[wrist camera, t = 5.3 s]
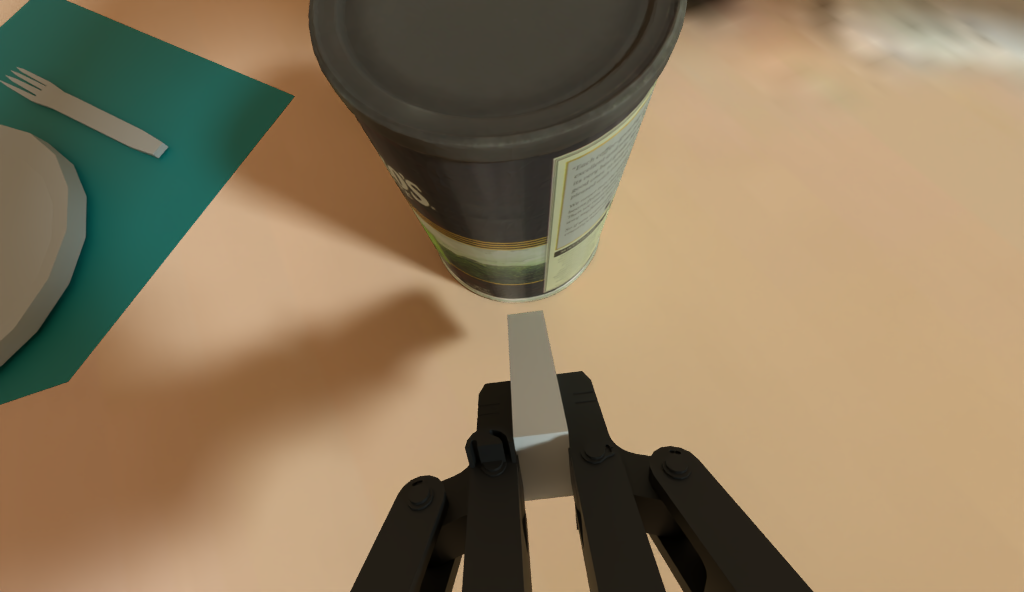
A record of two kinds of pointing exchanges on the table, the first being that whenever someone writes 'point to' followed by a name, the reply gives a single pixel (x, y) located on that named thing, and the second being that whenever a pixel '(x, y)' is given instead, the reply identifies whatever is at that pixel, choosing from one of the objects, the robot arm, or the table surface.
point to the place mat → (102, 174)
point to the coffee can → (501, 120)
